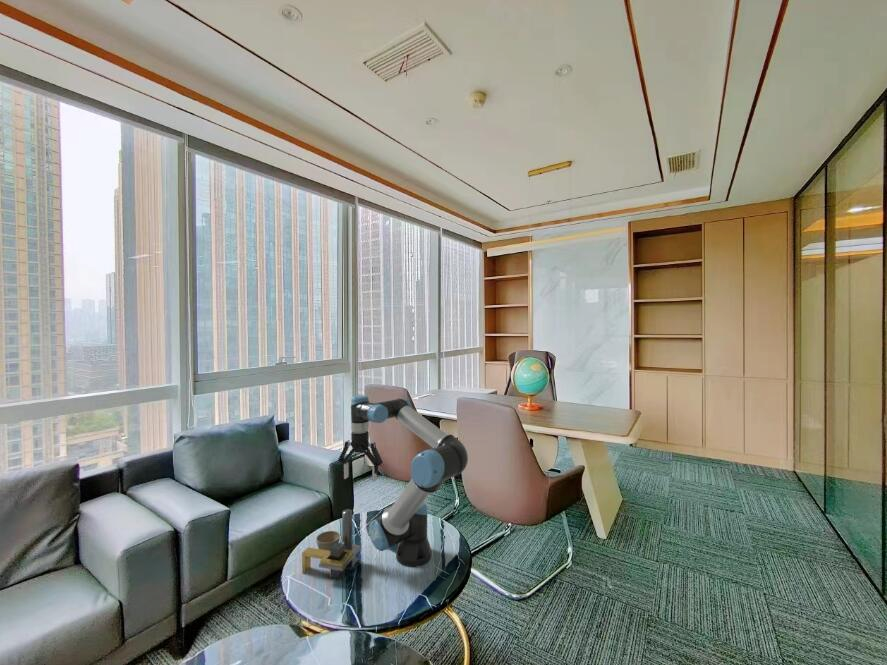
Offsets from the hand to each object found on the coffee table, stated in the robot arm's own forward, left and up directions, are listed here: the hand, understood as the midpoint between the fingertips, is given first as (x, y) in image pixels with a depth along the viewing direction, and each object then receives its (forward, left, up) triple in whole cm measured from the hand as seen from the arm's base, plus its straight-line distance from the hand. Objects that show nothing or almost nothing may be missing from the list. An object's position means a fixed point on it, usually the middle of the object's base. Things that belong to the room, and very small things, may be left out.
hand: (360, 479), depth 168 cm
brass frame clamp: (+6, +15, -32) cm, 35 cm away
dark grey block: (+1, +18, -32) cm, 36 cm away
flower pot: (+13, +5, -32) cm, 35 cm away
